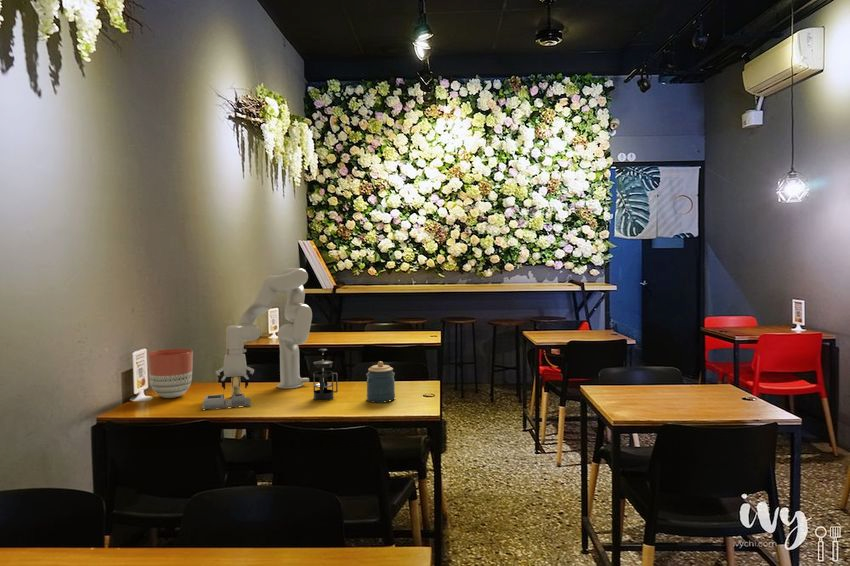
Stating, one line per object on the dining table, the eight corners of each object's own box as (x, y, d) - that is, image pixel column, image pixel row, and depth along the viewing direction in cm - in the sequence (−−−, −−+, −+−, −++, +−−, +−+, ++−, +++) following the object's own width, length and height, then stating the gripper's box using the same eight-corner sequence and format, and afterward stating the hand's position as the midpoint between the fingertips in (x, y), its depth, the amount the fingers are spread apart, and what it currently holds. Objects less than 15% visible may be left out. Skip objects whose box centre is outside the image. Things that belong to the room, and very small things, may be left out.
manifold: (249, 399, 267) (249, 390, 267) (250, 406, 254) (250, 397, 254) (203, 403, 261) (203, 394, 261) (201, 410, 248) (201, 401, 248)
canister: (391, 403, 257) (390, 364, 256) (363, 402, 259) (362, 363, 259) (398, 396, 270) (397, 359, 269) (371, 395, 272) (370, 358, 271)
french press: (309, 401, 263) (308, 350, 262) (314, 396, 273) (313, 347, 272) (335, 400, 263) (334, 350, 262) (339, 396, 272) (338, 347, 271)
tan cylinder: (240, 395, 275) (240, 374, 275) (240, 397, 272) (240, 376, 271) (231, 396, 274) (231, 375, 274) (231, 398, 270) (231, 376, 270)
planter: (162, 404, 260) (161, 356, 259) (141, 398, 272) (139, 352, 271) (202, 395, 275) (201, 350, 275) (180, 390, 287) (178, 347, 286)
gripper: (253, 350, 278) (254, 385, 279) (215, 351, 273) (215, 387, 273) (254, 352, 271) (254, 388, 272) (215, 353, 266) (215, 391, 266)
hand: (235, 388), depth 272 cm, fingers open, 9 cm apart
